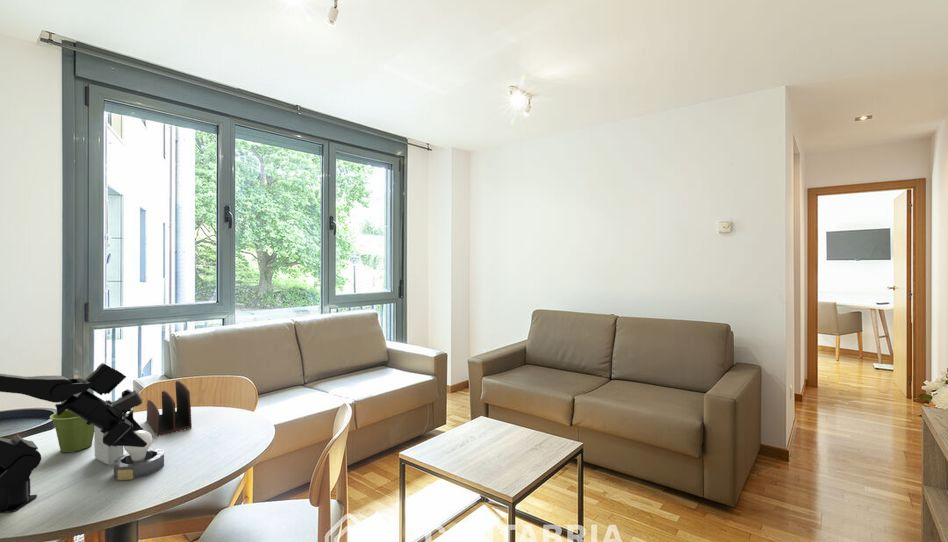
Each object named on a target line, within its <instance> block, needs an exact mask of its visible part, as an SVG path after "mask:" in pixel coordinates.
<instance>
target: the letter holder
mask: <svg viewBox="0 0 948 542" xmlns="http://www.w3.org/2000/svg"><path fill="white" fill-rule="evenodd" d="M174 385H175V400H174V399H173V397H172V396H171V394H169V392H167V391H166V390H162V391H161V413H162V414H161V413H160V411H159V409H158V407H157V405H156V404H155V403H154V402H153V401H152V400H150V399H147V403H146V422H147V423H148V425H149V426H150V427H151V429H152V430H153V432H154V433H155V435H156V436H157V437H160V436H164V435H163V434H165V435H168V433H169V434H172V432H173V433H176V431H178V432H181V431H180V430H182V431H185V430H184V429H186V430H189V428H190V429H192V426H193V425H192V409H191V406H192V405H191V395H190V393H191V392H190V390H189V389H188V387H187V386H186V385H185V384H184V383H183V382H182V381H180V380H175V383H174ZM175 401H176V402H175ZM159 435H160V436H159Z"/></svg>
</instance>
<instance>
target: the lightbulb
mask: <svg viewBox="0 0 948 542" xmlns="http://www.w3.org/2000/svg"><path fill="white" fill-rule="evenodd" d="M134 432H135V433H136V434H137V435H138V436H140V437H141V438H142V439H143V440H144V441H145V442H146V443H147V445H146V446H145V447H133V446H123V449H124V450H125V451H126V454H128V453H129V454H130V456H131V459H132V461H133V464H136V463H140V462H144V461H145V457H146V453H147V451H148V449H151V448H150V447H152V444H153V441H154V440H153V435H152V434H151V432H149V431H148V430H145V429H144V430H138V431H134Z"/></svg>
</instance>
